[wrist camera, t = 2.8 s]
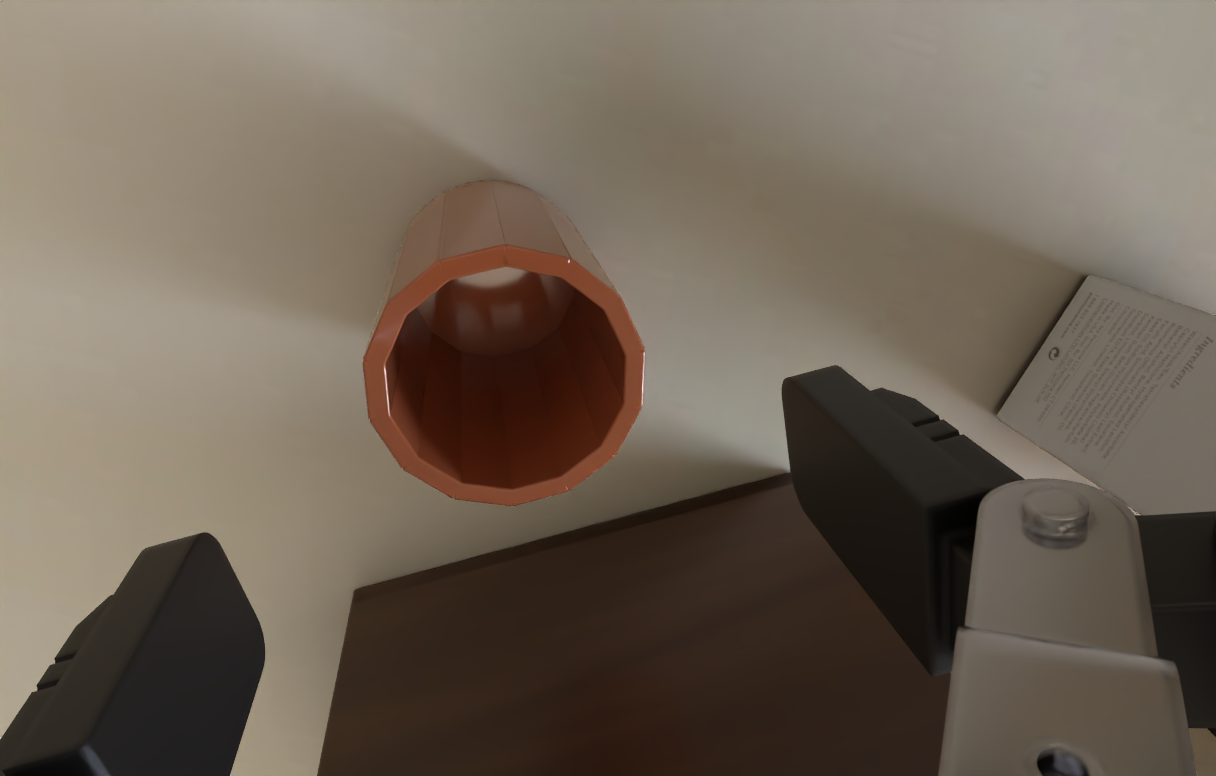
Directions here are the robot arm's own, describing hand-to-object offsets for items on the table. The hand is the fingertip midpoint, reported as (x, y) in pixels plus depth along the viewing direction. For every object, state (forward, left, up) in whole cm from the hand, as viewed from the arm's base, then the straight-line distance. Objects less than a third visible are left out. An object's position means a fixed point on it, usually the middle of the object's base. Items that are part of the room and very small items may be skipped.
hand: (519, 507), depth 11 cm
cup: (0, 0, -12) cm, 12 cm away
